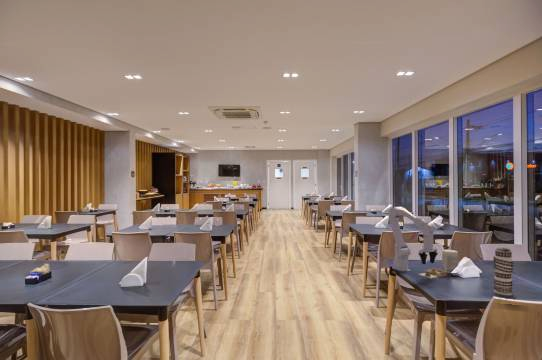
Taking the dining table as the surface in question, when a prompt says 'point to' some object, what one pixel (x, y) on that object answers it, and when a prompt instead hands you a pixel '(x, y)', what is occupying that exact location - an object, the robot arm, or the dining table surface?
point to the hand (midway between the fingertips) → (427, 263)
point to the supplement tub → (449, 260)
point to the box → (437, 272)
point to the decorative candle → (503, 271)
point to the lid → (428, 275)
